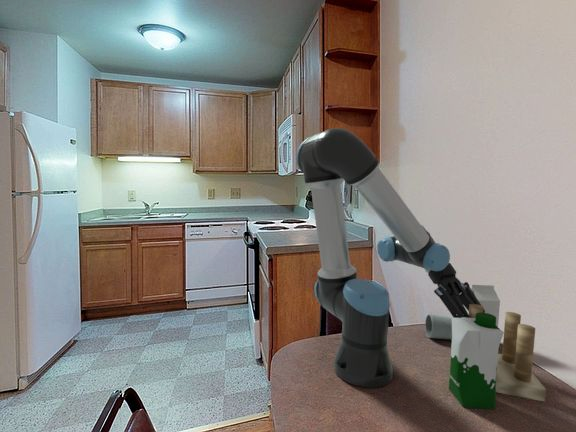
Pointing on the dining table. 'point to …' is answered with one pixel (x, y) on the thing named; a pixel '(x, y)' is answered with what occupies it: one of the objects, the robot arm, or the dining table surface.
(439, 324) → the ceramic mug
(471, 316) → the loose leg
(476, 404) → the soya milk
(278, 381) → the dining table surface
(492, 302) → the milk carton
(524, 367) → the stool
